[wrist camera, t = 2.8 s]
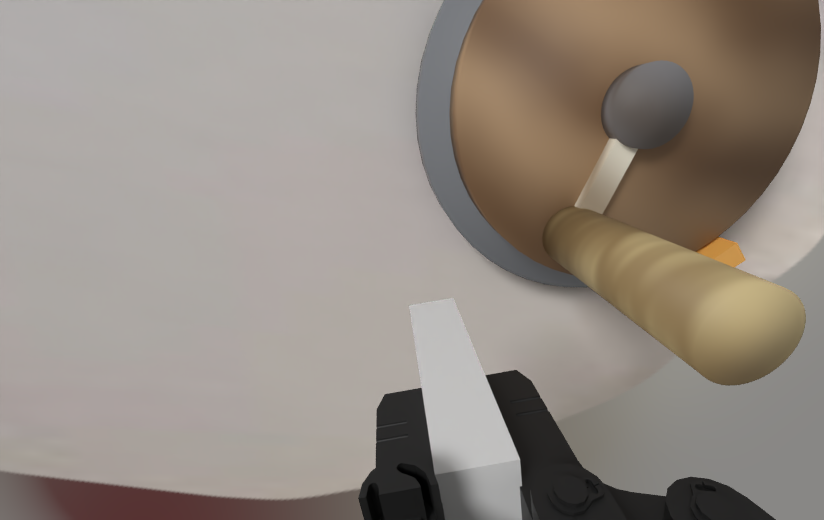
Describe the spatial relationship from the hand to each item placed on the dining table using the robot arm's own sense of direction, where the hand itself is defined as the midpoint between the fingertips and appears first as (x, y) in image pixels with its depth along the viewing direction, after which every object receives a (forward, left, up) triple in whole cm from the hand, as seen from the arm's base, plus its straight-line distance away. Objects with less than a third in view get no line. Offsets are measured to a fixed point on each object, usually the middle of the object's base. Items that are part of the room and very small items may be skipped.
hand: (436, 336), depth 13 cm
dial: (-11, +7, -9) cm, 15 cm away
